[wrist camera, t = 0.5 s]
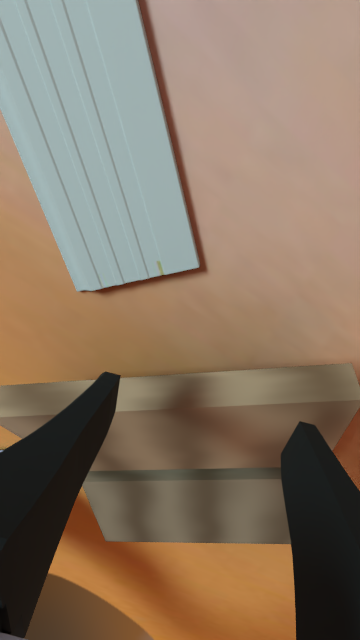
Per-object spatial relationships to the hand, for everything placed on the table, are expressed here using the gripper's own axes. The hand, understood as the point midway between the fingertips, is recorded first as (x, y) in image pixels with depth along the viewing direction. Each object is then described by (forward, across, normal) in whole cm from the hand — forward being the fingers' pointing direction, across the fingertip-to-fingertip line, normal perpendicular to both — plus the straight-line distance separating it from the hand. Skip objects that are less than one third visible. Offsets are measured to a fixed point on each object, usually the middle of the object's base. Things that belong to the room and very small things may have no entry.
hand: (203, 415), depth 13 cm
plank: (+7, 0, +8) cm, 10 cm away
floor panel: (+9, -4, +19) cm, 22 cm away
